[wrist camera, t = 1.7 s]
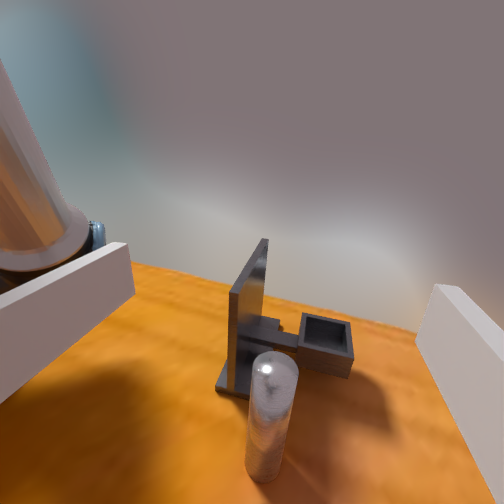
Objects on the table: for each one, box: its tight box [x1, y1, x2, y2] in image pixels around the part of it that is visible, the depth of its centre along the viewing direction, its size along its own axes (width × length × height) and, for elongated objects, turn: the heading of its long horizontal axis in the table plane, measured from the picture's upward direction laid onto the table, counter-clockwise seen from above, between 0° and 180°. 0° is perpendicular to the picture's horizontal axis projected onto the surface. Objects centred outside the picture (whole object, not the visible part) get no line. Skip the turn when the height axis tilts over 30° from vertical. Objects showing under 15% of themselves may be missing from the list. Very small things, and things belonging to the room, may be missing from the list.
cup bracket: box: [215, 238, 354, 401], centre depth 42 cm, size 19×18×19 cm
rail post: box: [245, 351, 299, 483], centre depth 28 cm, size 4×4×16 cm
